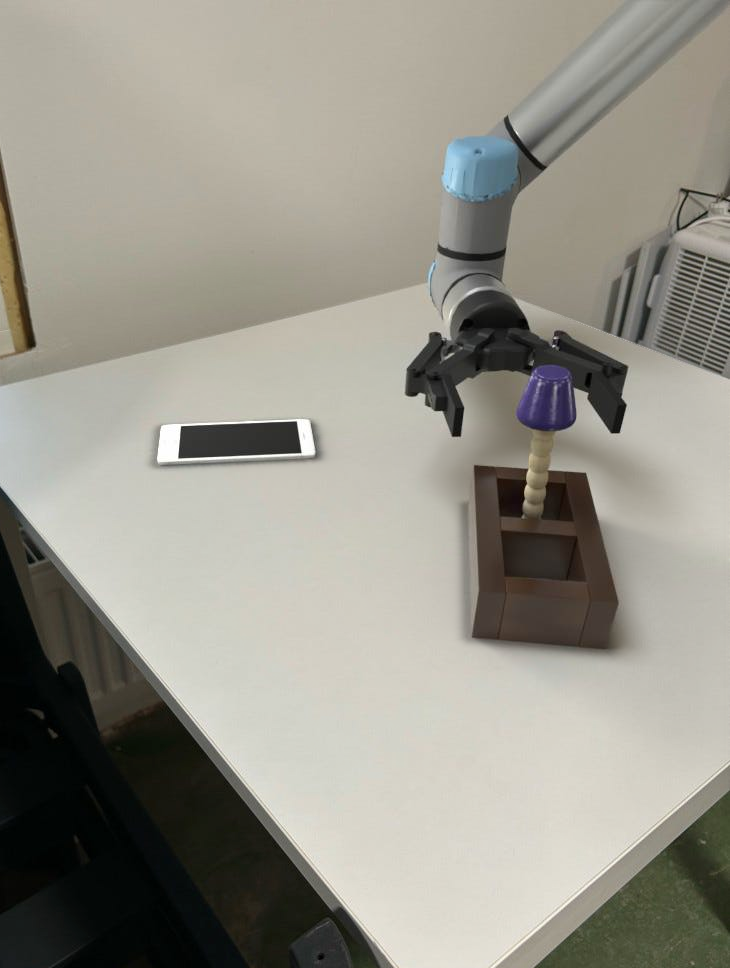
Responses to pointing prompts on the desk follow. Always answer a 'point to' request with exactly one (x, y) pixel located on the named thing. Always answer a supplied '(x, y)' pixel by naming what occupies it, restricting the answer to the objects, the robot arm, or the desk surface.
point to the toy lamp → (544, 427)
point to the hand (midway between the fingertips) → (539, 421)
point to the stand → (538, 562)
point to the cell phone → (235, 442)
